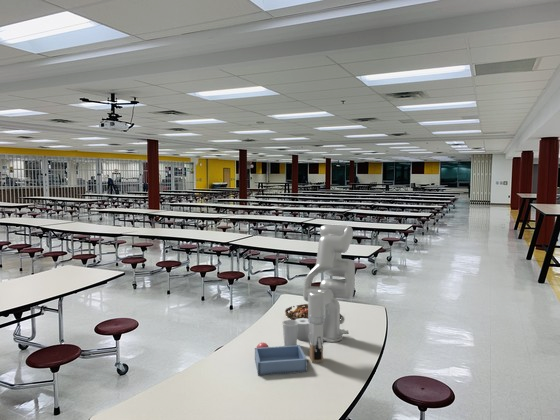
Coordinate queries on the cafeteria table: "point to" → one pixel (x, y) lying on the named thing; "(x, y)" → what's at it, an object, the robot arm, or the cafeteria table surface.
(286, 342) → the cup
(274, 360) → the tub
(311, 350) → the brown and white block
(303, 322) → the toilet tissue
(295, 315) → the food dish
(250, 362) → the cafeteria table surface
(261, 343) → the red glossy sphere
